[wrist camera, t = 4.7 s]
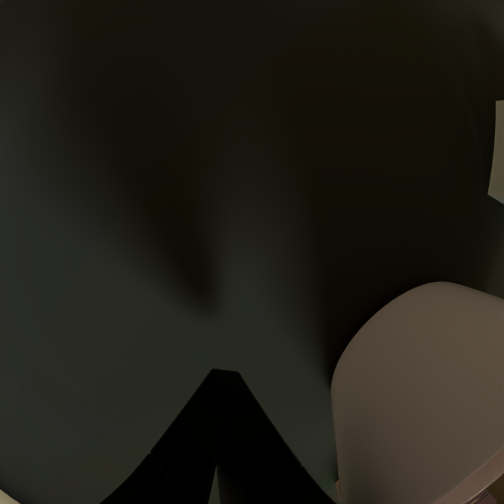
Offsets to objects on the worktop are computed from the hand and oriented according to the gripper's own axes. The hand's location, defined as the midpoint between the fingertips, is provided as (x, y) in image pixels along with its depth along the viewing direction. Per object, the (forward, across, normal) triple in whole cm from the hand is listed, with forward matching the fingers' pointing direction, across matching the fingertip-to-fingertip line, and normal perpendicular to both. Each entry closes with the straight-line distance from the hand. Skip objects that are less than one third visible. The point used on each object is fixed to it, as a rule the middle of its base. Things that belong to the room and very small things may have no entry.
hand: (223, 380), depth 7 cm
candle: (+2, -7, 0) cm, 7 cm away
